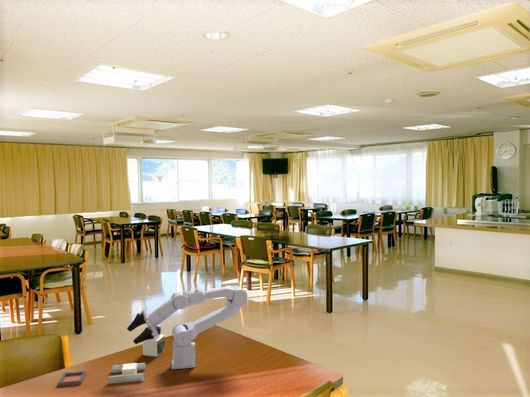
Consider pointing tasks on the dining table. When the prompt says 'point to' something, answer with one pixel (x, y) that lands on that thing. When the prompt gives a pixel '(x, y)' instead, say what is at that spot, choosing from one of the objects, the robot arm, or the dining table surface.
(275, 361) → the dining table surface
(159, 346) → the medicine bottle
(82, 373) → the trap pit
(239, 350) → the dining table surface
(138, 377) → the channel
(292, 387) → the dining table surface
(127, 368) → the block
